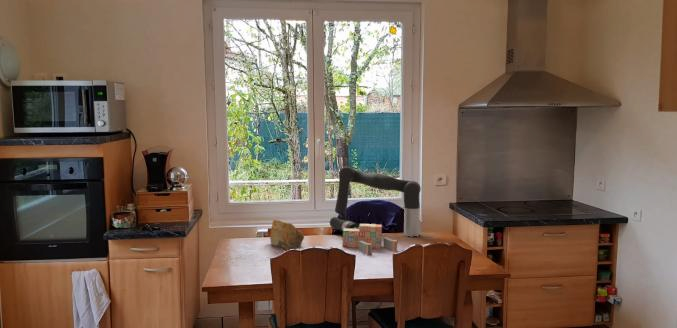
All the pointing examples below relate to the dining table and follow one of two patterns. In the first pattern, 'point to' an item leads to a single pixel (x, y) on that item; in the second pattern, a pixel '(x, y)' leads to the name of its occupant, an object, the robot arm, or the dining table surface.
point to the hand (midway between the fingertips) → (365, 234)
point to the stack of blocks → (363, 235)
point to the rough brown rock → (285, 235)
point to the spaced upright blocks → (367, 247)
